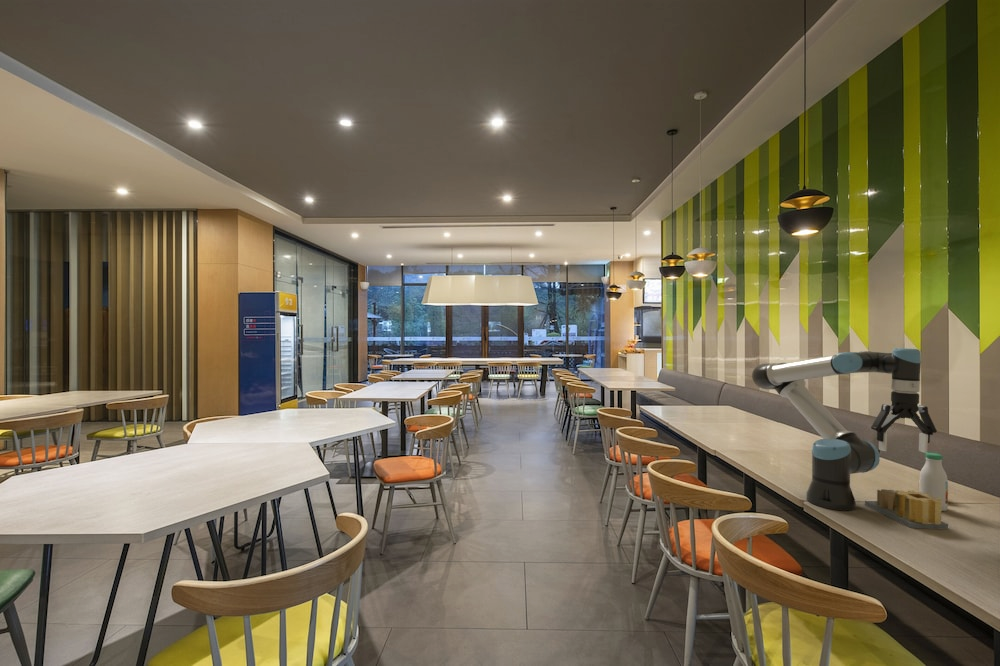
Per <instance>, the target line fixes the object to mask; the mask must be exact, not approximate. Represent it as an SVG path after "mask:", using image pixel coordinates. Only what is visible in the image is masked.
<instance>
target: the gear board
mask: <svg viewBox="0 0 1000 666" xmlns="http://www.w3.org/2000/svg"><path fill="white" fill-rule="evenodd" d="M876 491H877V492H876V493H877V494H876V495H877V497H876V501H875V500H864V506H867V507H869V508H870V509H872V510H874V511H876V512H878V513H881V514H882V515H884V516H886V517H889V518H891V519H892V520H893V521H894V520H895V521H896V522H898V523H900V522H901V524H902V523H903V525H904V524H905V526H906V525H907V527H908V526H909V528H910V527H913V528H912V529H939V530H940V529H945V530H948V529H949V524H948V523H947V522H944V521H942V520H941V525H939V524H933V523H928V524H921V523H916V522H914V521H908V520H906V519H905V517H903V516H898V515H896V514H895V493H896V490H894V489H886V488H885V489H884V488H883V489H877V490H876Z"/></svg>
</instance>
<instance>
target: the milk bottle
mask: <svg viewBox="0 0 1000 666" xmlns="http://www.w3.org/2000/svg"><path fill="white" fill-rule="evenodd" d="M924 454H925V463H924V465H923V467H922V468H921V469H920V473H919V482H918V484H919V489H918V490H919V491H918V492H921V493H926V494H929V495H931V497H937V498H939V499H942V502H941V512H946V511H948V506H949V505H948V504H949V503H948V502H949V500H948V498H949V492H948V491H949V481H948V476H947V475H948V474H947V472H946V471H945V469H944V467H943V464H942V462H943V455H942V454H939V453H937V452H927V453H924Z"/></svg>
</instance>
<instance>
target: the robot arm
mask: <svg viewBox="0 0 1000 666" xmlns="http://www.w3.org/2000/svg"><path fill="white" fill-rule="evenodd" d="M921 359H922V353H921V351H920V349H917V348H904V347H903V348H902V347H895V348H893V350H892V351H891V352H878V351H867V350H866V351H859V352H857V351H854V352H853V351H852V352H851V351H844V352H843V351H842V352H839V353H837V354H832V355H826V356H822V357H815V358H810V359H802V360H797V361H791V362H780V363H778V362H777V363H776V362H775V363H774V362H771V363H767V362H766V363H761V364H758V365H757V366H756V367H754V368H753V371H752V373H751V377H752V378H751V379H752V380H753V381H752V382H754V383H753V384H755V385H756V386H757V387H758V388H760V389H763V390H775V391H776V392H777V394H778V395H779V396H780V397H781V398H787V400H789V402H790V403H791V404H792V405H793V406H794V407H795V409H796V410H797V411H798V412H799V413H800V414H801V415H802V416H803V418H804V419H805V420H806V421H807V422H808V423H809V424H810V425H811V426H812V427H813V429H814V430H815V431H816V432H817V433H818V434H819V436H820V437H821V438H822V439H818V440H817V439H816V440H815V441H814V442H813V443H812V449H811V455H812V456H811V457H812V458H811V459H812V460H811V462H812V463H811V464H812V465H811V482H810V484H809V486H808V489H807V490H806V495H805V497H806V501H807V502H809V503H811V504H813V505H816V506H818V507H822V508H825V509H830V510H834V511H853V510H855V509H856V503H857V502H856V499H855V496H854V493H853V491H852V488H851V475H853V474H859V473H861V474H862V473H863V474H864V473H867V472H870V471H873V470H875V469H876V468H877V467H878V466H879V464H880V462H881V461H880V457H881V456H880V455H881V454H880V452H879V451H882V452H888V451H887V448H888V433H887V432H886V431H887V430H889V428H890V427H891V426H892V425H893V424H894V423H895V422H896V421H897V420H900V419H911V421H912V422H913V423H914V424H915V426H916V427H917V428H918V429H919V430H920V431H921V432H919V433H918V434H919V437H918V452H921V453H924V454H926V453H928V447H929V446H928V444H930V441H931V436H932V435H934V433H937V429H936V426H935V424H934V422H933V420H932V418H931V416H930V413H929V410H928V409H929V407H928V406H925V405H919V403H920V394H919V392H920V391H921V389H920V388H921V386H920V385H921V366H922V365H921V364H922V360H921ZM854 373H855V374H856V373H857V374H859V373H862V374H863V373H879V374H880V373H881V374H891V385H890V389H891V392H890V401H891V405H890V404H884V403H882V404H881V406H880V407H881V408H880V411H879V413H878V414H877V416H876V418H875V420H874V422H873V423H872V425H871V427H870V428H871V430H873V431H876V440H877V441H878V447H876V446H875V445H874V444H873V443H872V442H870V441H868V440H864V439H861V438H860V437H859V436H858V435H857V434H856V433H855V431H851V430H847V429H846V428H845V427H844V426H843V425H842V424H841V423H840V422H839V420H838V419H836V418H835V417H834V416H833V414H832V413H831V412H830V411H829V410H828V409H827V408H826V407H825V405H823V404H822V403H821V402H820V401H819V399H818V398H817V397H815V395H814V394H813V393H812V392H811V391H810V390H809V389H808V387H806V383H807V382H806V380H810V379H811V380H812V379H817V378H824V377H825V378H826V377H831V376H839V375H847V374H854ZM918 413H919V415H920V416H919V415H918Z"/></svg>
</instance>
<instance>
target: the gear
mask: <svg viewBox="0 0 1000 666" xmlns="http://www.w3.org/2000/svg"><path fill="white" fill-rule="evenodd" d="M895 491H896V493H895V514H896V515H898V516H903V517H905V519H906V520H908V521H914V522H916V523H921V524H928V523H933V524H939V525H941V521H942V511H941V502H942V499H939V498H937V497H931V495H929V494H926V493H921V492H919V491H914V490H908V491H904V490H895Z"/></svg>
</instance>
